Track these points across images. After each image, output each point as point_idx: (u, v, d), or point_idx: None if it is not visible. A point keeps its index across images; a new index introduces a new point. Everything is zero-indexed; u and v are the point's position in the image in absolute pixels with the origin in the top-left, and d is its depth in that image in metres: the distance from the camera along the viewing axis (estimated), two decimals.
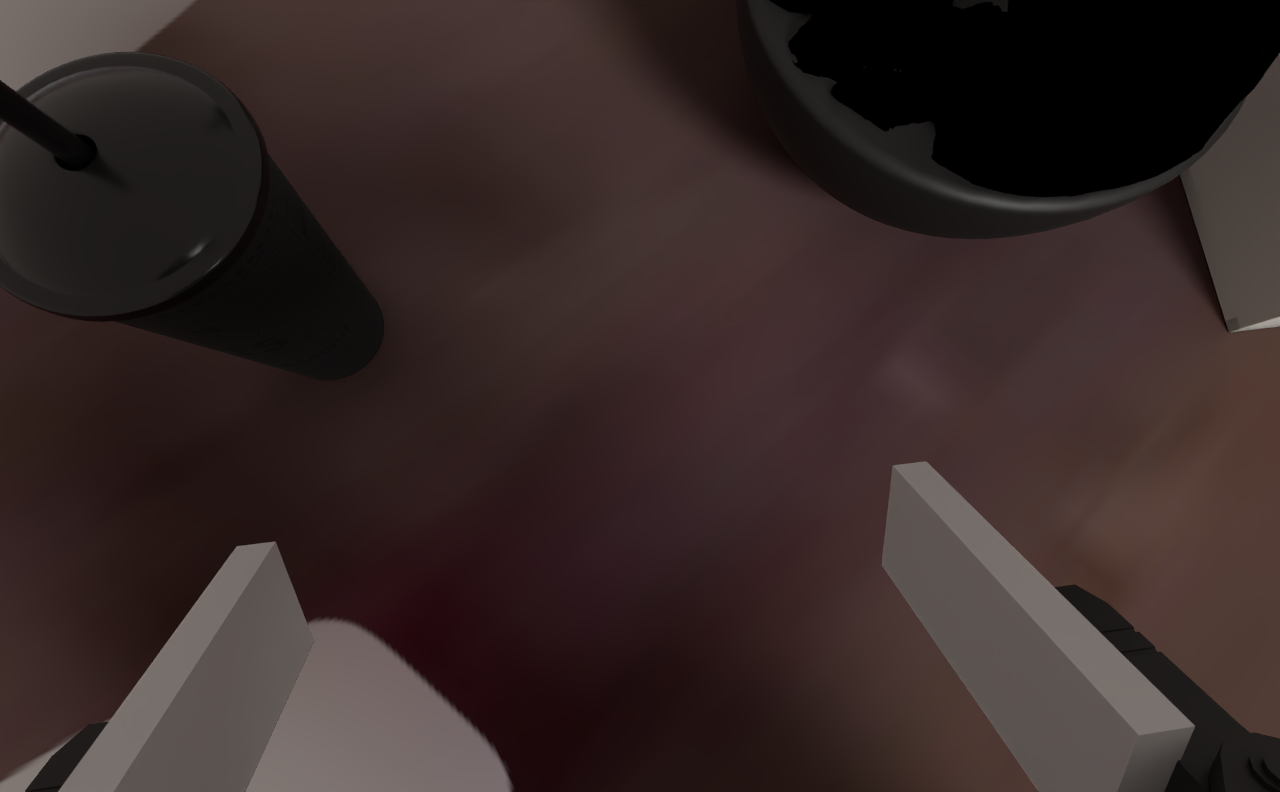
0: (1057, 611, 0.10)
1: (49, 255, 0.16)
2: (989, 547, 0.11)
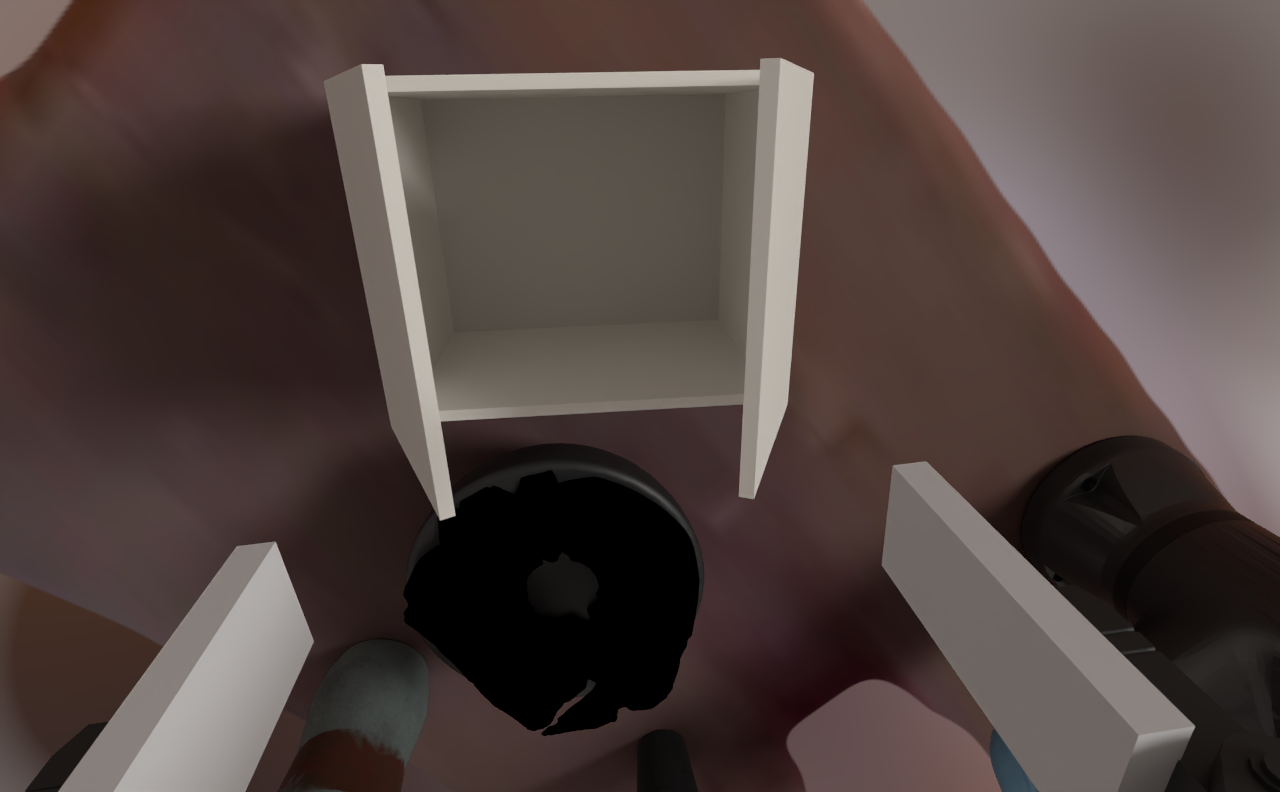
0: (1057, 611, 0.10)
1: None
2: (989, 547, 0.11)
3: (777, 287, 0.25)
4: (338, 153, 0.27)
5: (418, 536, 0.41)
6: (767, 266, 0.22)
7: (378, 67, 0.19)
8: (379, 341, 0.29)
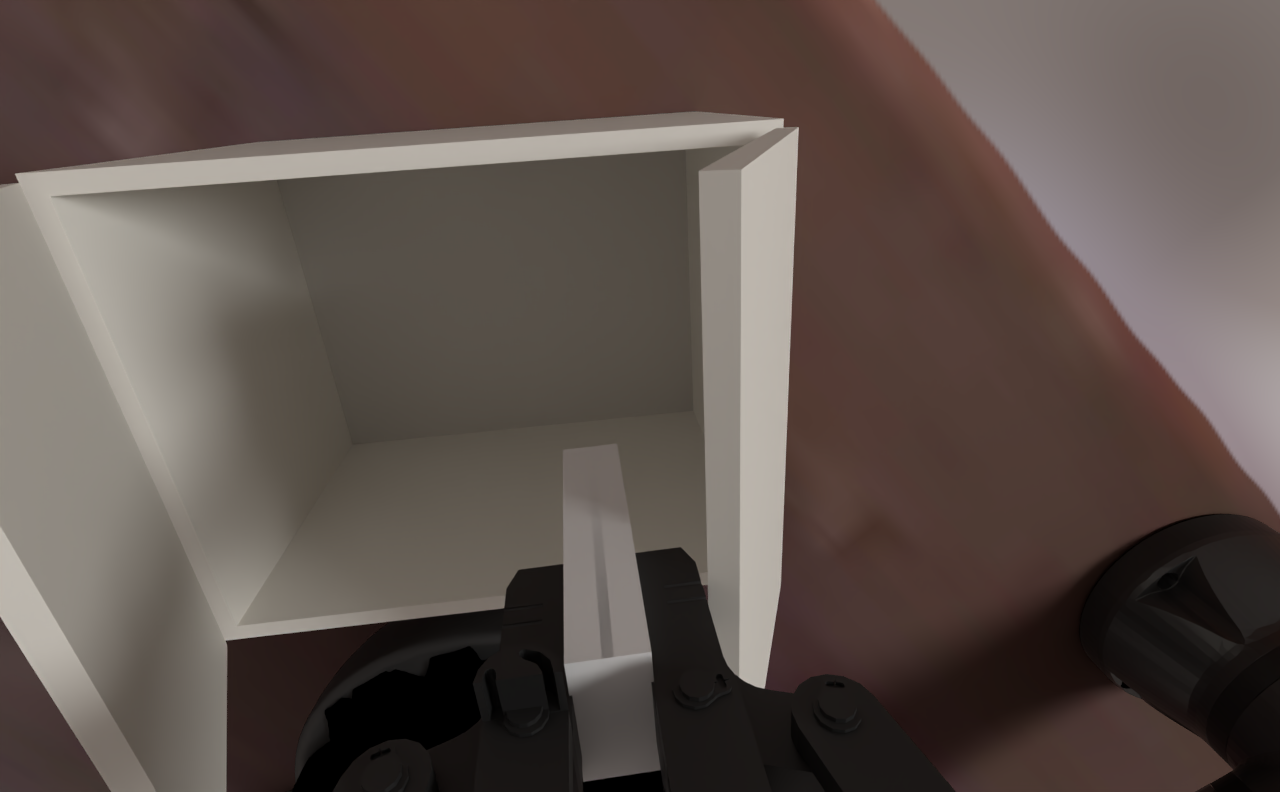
0: (620, 565, 0.11)
1: None
2: (608, 514, 0.13)
3: (759, 515, 0.14)
4: None
5: (303, 731, 0.31)
6: (739, 539, 0.12)
7: None
8: None
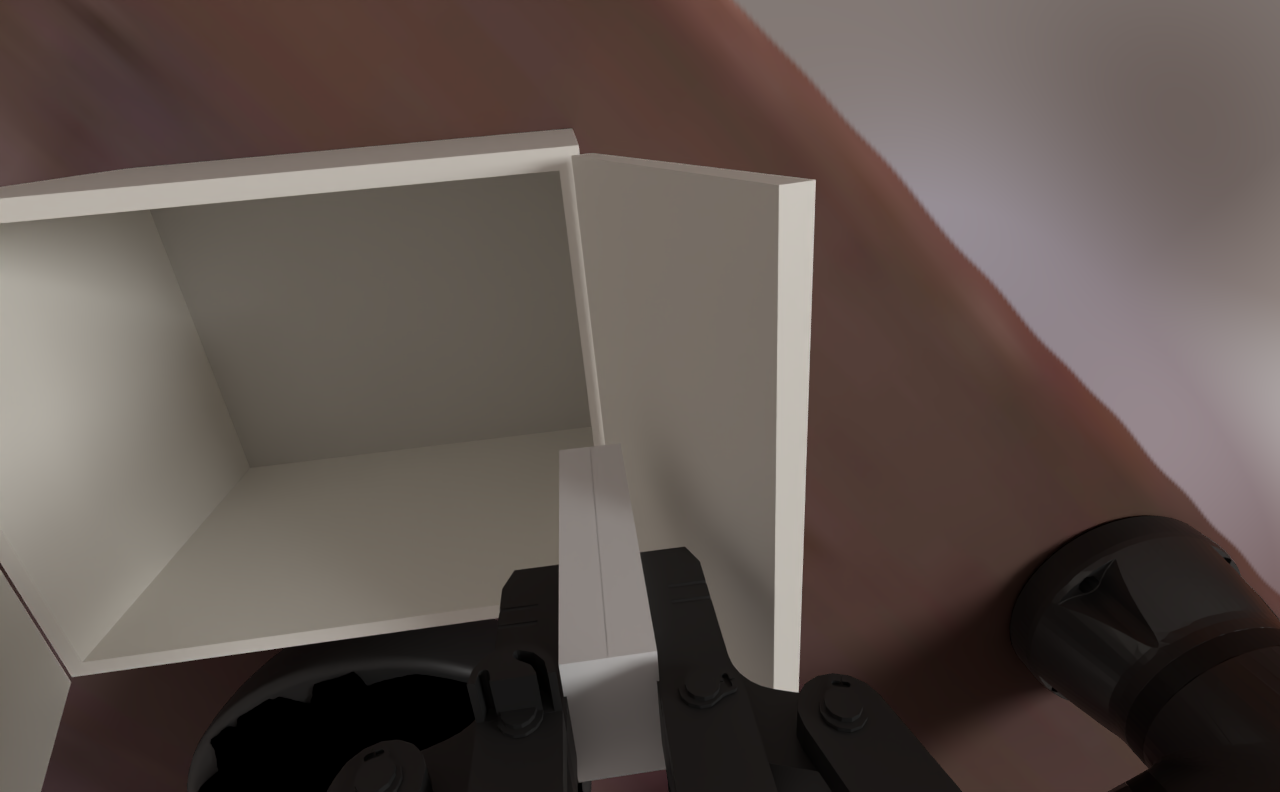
0: (625, 564, 0.11)
1: None
2: (613, 514, 0.13)
3: None
4: None
5: (192, 761, 0.31)
6: (800, 544, 0.12)
7: None
8: None
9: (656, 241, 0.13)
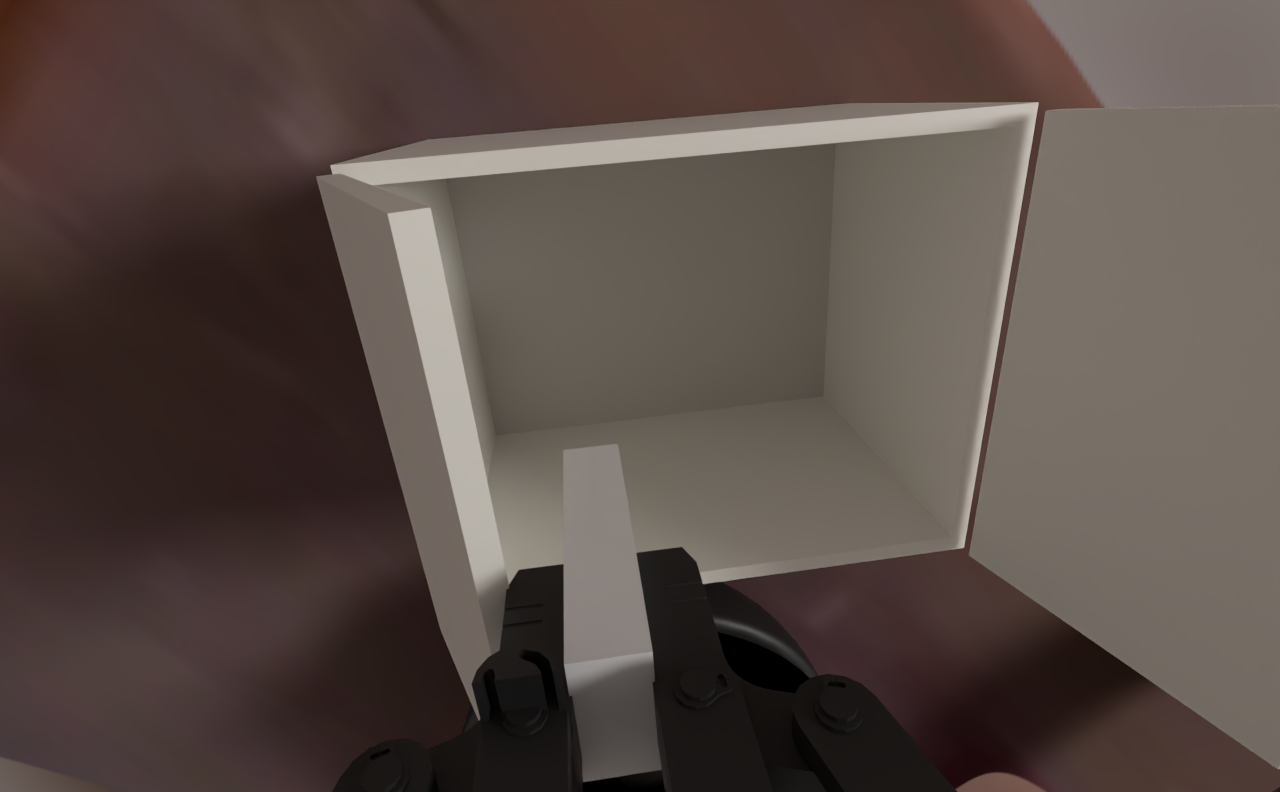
0: (621, 565, 0.11)
1: None
2: (609, 514, 0.13)
3: None
4: (345, 281, 0.18)
5: (473, 715, 0.32)
6: None
7: (421, 214, 0.09)
8: (422, 543, 0.20)
9: (1254, 177, 0.14)
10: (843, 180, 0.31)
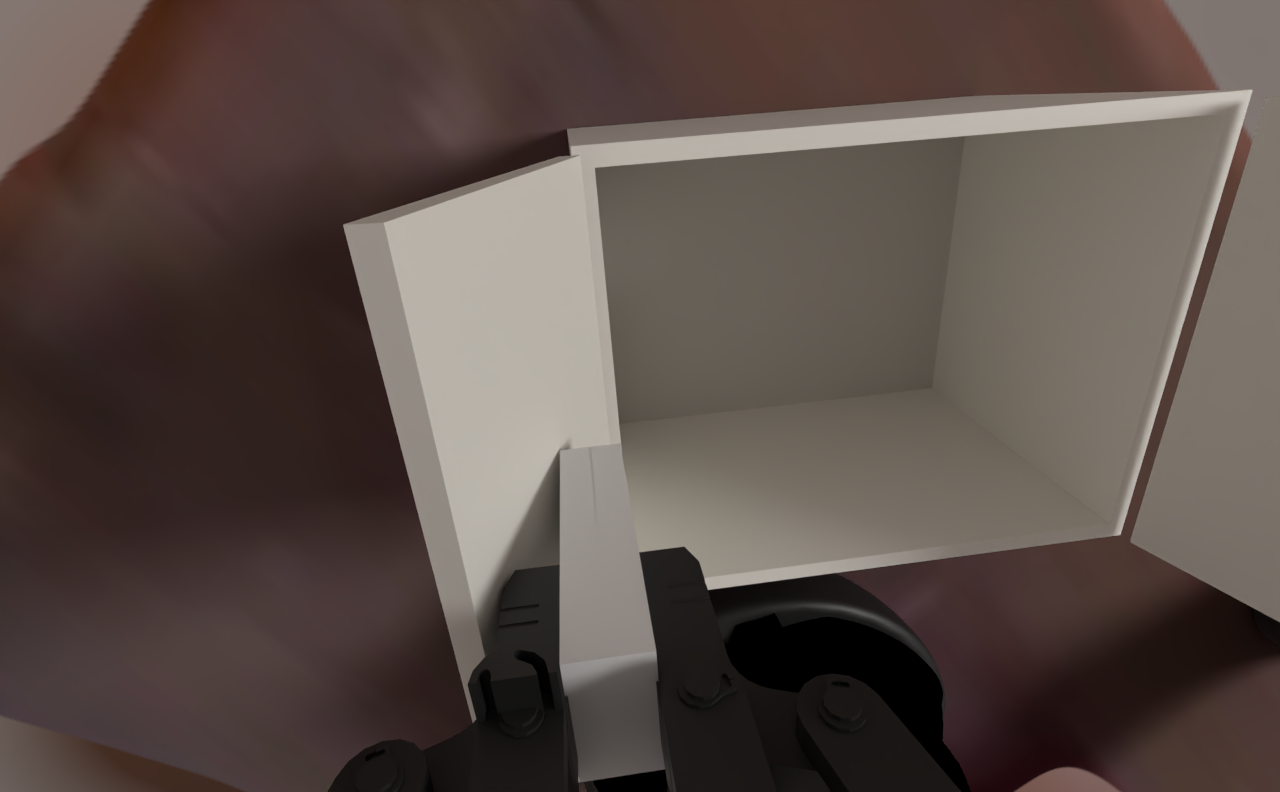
0: (624, 565, 0.11)
1: None
2: (612, 514, 0.13)
3: None
4: None
5: None
6: None
7: (373, 229, 0.08)
8: None
9: None
10: (974, 172, 0.31)
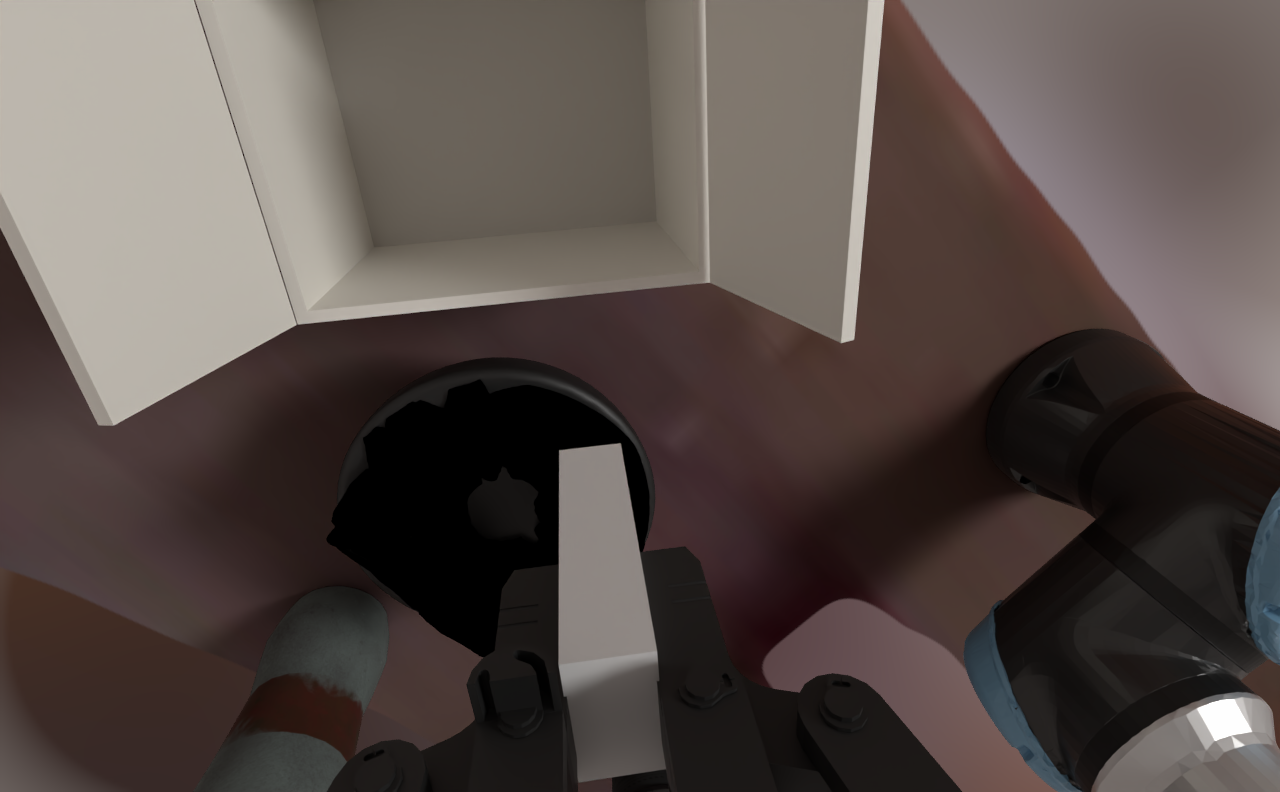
0: (625, 565, 0.11)
1: None
2: (613, 514, 0.13)
3: None
4: None
5: (345, 460, 0.38)
6: (877, 57, 0.20)
7: None
8: None
9: None
10: (648, 15, 0.38)
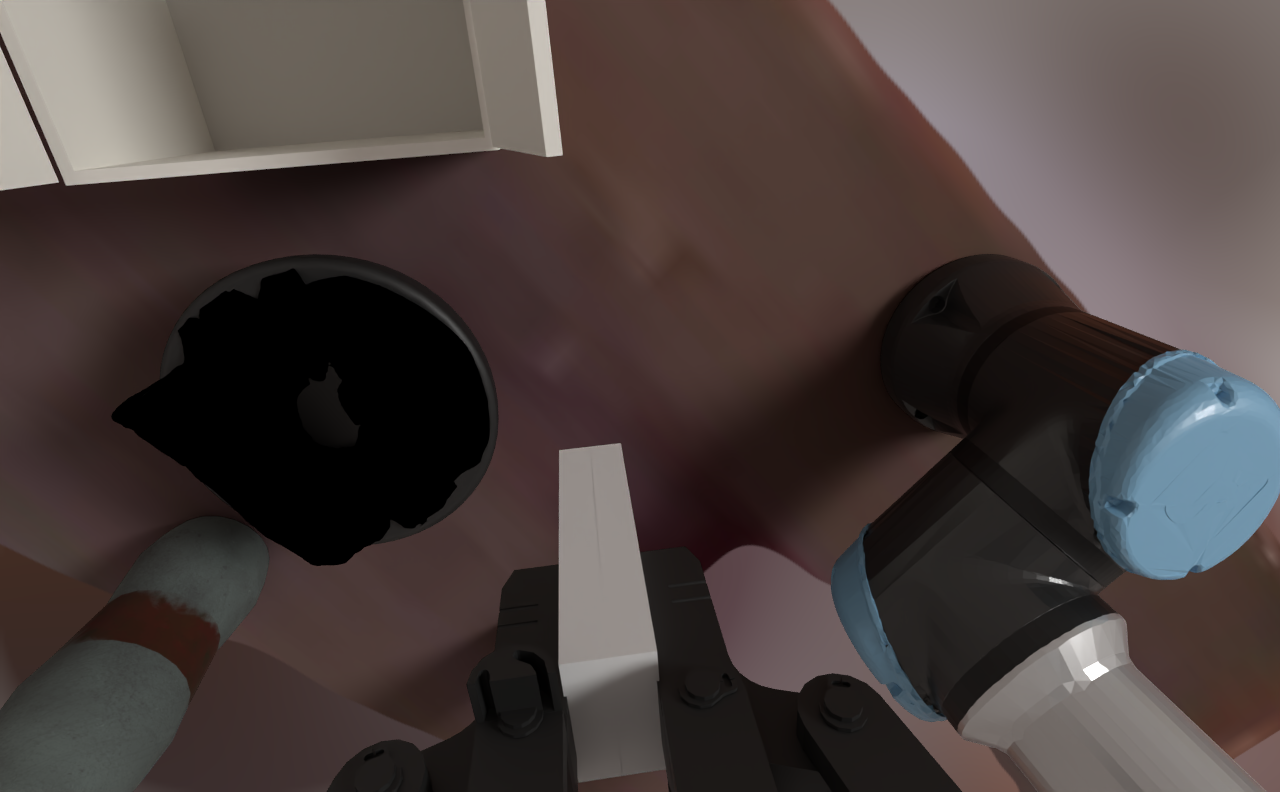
0: (625, 564, 0.11)
1: None
2: (612, 514, 0.13)
3: None
4: None
5: (164, 354, 0.38)
6: None
7: None
8: None
9: None
10: None
